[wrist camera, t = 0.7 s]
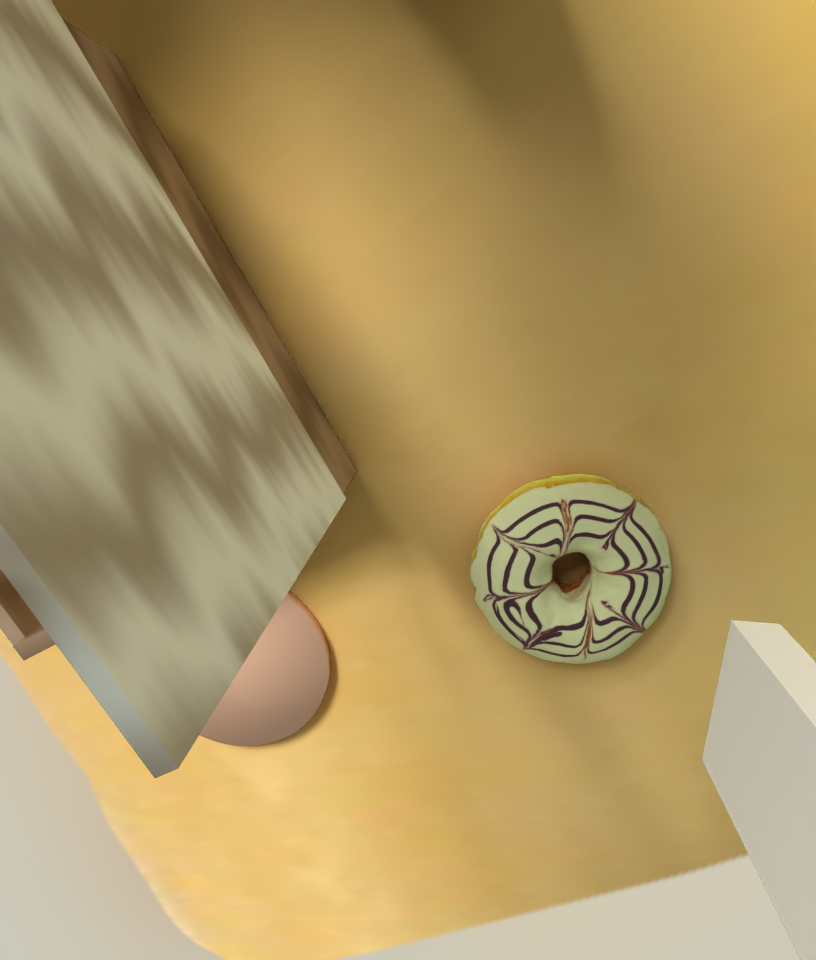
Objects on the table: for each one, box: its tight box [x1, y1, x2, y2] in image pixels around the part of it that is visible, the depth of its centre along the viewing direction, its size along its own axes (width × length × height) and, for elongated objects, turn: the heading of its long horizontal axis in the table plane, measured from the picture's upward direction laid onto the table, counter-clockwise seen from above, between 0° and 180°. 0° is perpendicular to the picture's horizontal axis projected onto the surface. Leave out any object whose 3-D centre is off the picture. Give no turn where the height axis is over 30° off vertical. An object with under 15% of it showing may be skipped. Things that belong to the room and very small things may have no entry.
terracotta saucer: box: [199, 591, 330, 746], centre depth 40 cm, size 12×12×1 cm
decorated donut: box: [470, 474, 672, 664], centre depth 35 cm, size 10×11×4 cm
